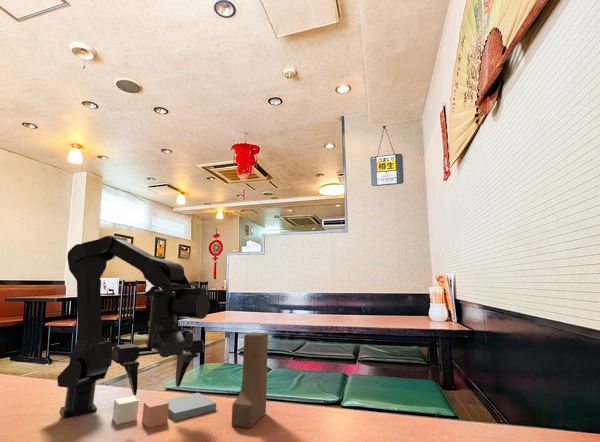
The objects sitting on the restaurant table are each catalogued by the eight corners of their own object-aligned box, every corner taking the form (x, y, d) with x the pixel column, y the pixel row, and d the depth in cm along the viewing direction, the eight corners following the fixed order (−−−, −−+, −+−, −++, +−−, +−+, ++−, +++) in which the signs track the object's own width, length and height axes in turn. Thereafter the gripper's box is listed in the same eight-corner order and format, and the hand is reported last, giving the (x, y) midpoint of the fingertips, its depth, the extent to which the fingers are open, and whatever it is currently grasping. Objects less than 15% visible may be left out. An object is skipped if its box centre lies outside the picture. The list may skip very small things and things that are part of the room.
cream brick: (112, 419, 73) (114, 399, 73) (131, 414, 75) (133, 395, 76) (116, 424, 70) (119, 404, 70) (136, 420, 72) (138, 400, 73)
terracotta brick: (142, 422, 71) (143, 402, 72) (160, 417, 74) (162, 398, 75) (147, 428, 68) (149, 407, 69) (167, 423, 71) (168, 403, 72)
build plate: (158, 407, 79) (159, 401, 79) (197, 398, 86) (198, 392, 86) (174, 420, 72) (174, 413, 72) (215, 409, 78) (216, 403, 79)
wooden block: (250, 429, 68) (253, 338, 71) (230, 426, 69) (234, 337, 73) (266, 413, 76) (268, 332, 80) (248, 411, 78) (251, 332, 81)
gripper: (129, 323, 63) (119, 411, 60) (217, 317, 75) (212, 391, 72) (115, 318, 72) (106, 395, 68) (196, 314, 84) (191, 379, 81)
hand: (156, 390), depth 72 cm, fingers open, 9 cm apart
